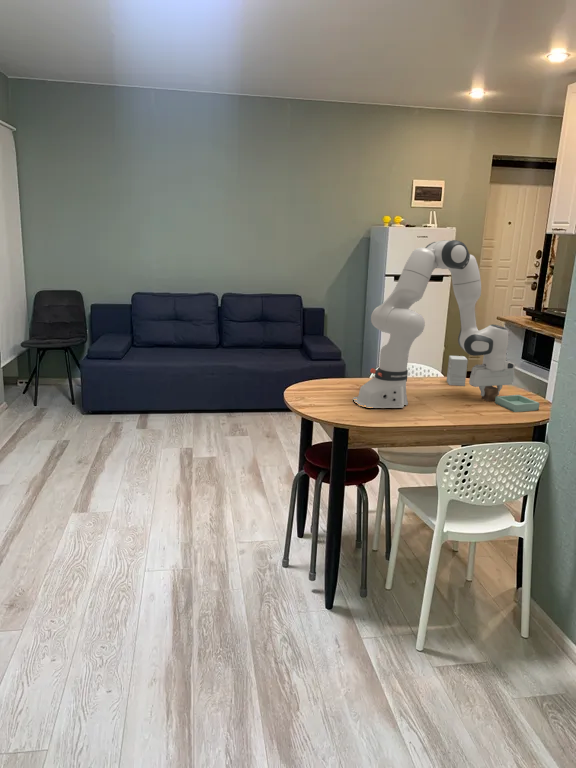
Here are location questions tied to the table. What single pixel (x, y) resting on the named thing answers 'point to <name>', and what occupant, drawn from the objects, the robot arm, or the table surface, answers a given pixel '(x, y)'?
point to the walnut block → (490, 393)
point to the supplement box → (457, 370)
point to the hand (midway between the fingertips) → (489, 395)
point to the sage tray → (517, 403)
